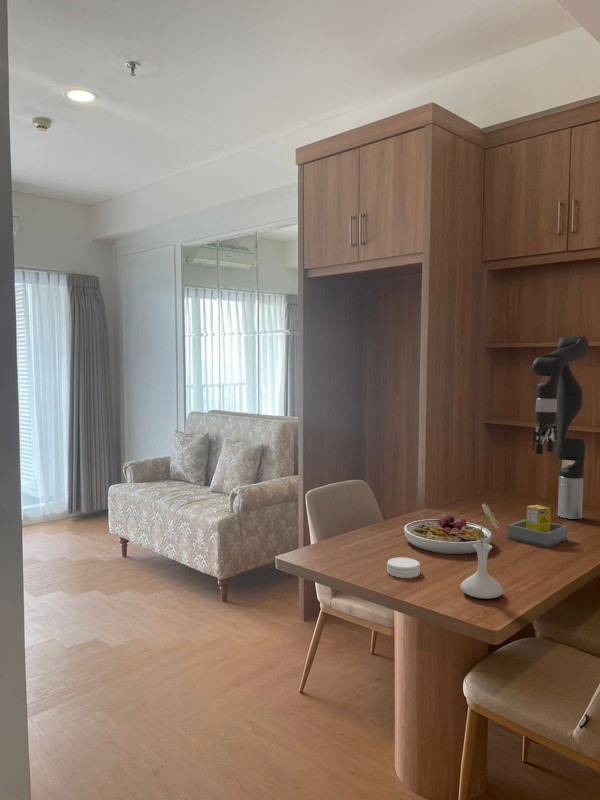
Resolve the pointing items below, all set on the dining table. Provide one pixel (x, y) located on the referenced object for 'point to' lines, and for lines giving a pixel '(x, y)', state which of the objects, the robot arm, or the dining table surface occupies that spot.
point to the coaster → (403, 567)
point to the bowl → (446, 535)
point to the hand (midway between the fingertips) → (544, 452)
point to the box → (537, 534)
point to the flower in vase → (482, 568)
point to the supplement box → (538, 518)
